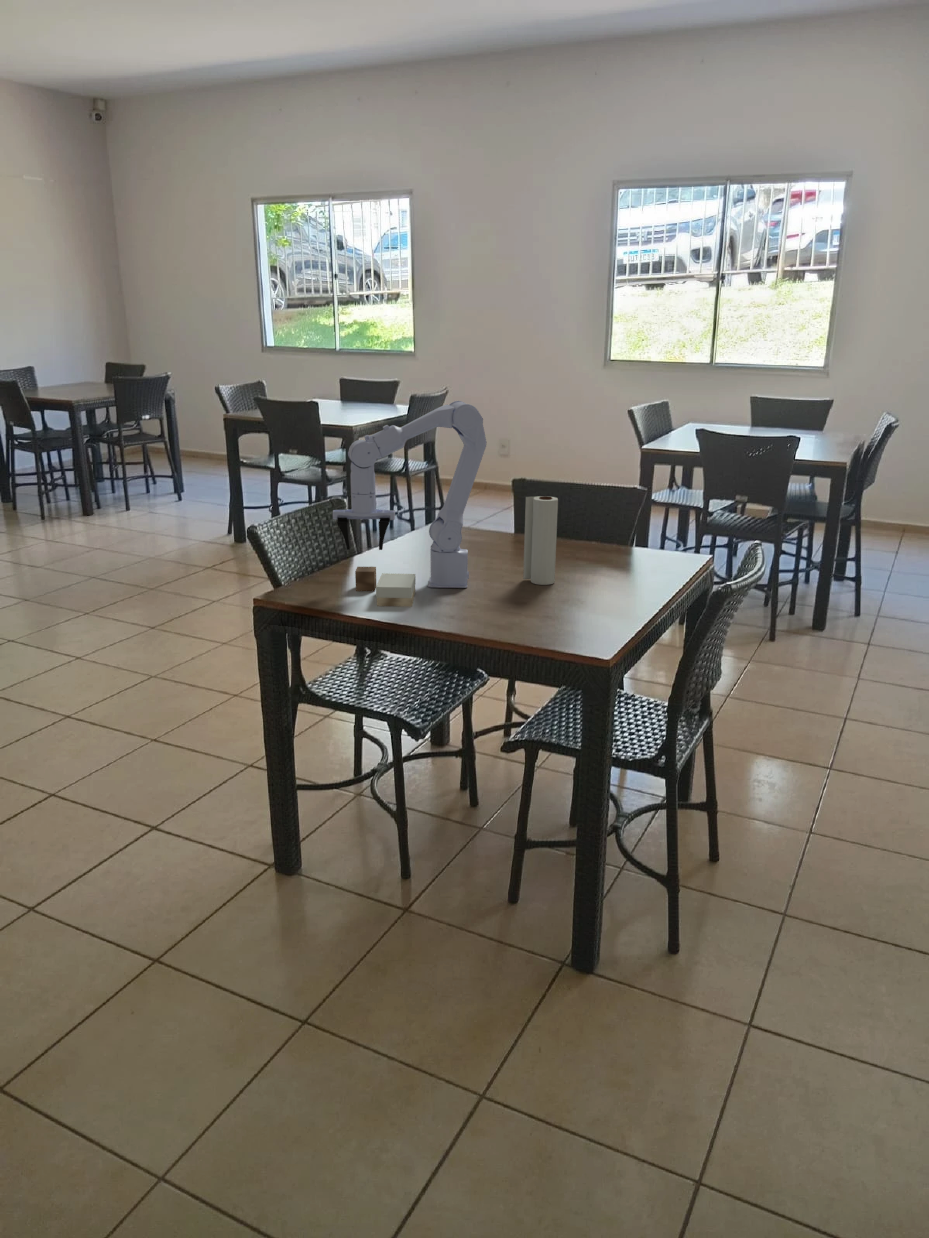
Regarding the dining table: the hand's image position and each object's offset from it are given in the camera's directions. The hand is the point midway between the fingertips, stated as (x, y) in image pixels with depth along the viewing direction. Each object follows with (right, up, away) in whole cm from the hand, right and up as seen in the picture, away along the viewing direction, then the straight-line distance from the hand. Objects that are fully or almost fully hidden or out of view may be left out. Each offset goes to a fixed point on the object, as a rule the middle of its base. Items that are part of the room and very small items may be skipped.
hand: (364, 548), depth 220 cm
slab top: (+8, -10, -5) cm, 14 cm away
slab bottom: (+8, -13, -4) cm, 16 cm away
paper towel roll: (+43, -8, +10) cm, 45 cm away
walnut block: (0, -9, +3) cm, 10 cm away
